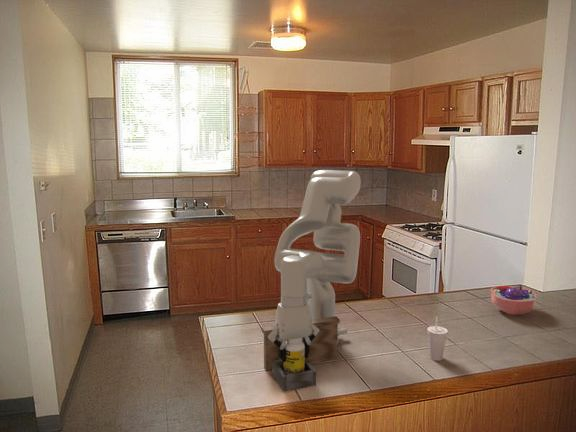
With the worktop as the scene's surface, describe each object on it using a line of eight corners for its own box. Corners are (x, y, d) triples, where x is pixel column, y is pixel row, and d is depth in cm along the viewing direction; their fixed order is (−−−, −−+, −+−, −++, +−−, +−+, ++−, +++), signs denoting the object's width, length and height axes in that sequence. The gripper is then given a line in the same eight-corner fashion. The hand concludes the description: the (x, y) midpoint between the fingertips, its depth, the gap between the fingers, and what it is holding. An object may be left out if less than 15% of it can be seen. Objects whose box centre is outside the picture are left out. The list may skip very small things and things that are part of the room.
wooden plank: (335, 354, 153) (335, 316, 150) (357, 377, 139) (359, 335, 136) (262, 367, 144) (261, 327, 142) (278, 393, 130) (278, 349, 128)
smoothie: (422, 353, 153) (424, 313, 151) (441, 352, 154) (444, 312, 151) (430, 363, 147) (432, 321, 145) (449, 362, 148) (452, 320, 145)
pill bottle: (280, 374, 135) (280, 338, 133) (288, 364, 140) (288, 329, 138) (300, 378, 133) (300, 342, 131) (307, 368, 138) (307, 333, 136)
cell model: (537, 308, 193) (540, 282, 191) (532, 325, 176) (535, 296, 174) (493, 300, 202) (495, 275, 200) (485, 315, 185) (487, 288, 183)
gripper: (316, 291, 139) (316, 347, 142) (261, 298, 133) (261, 357, 136) (327, 300, 132) (326, 358, 135) (269, 308, 126) (269, 369, 129)
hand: (294, 357), depth 136 cm, fingers closed on pill bottle, 6 cm apart
